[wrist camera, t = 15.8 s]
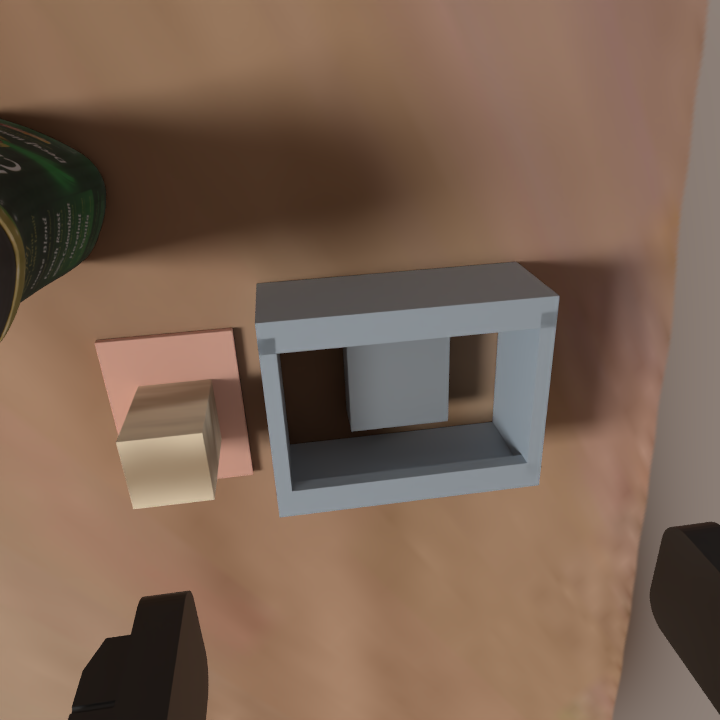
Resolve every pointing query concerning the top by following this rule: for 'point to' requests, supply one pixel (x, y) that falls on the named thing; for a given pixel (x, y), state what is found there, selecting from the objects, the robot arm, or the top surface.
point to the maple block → (171, 444)
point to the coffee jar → (43, 213)
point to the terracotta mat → (181, 364)
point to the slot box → (409, 383)
